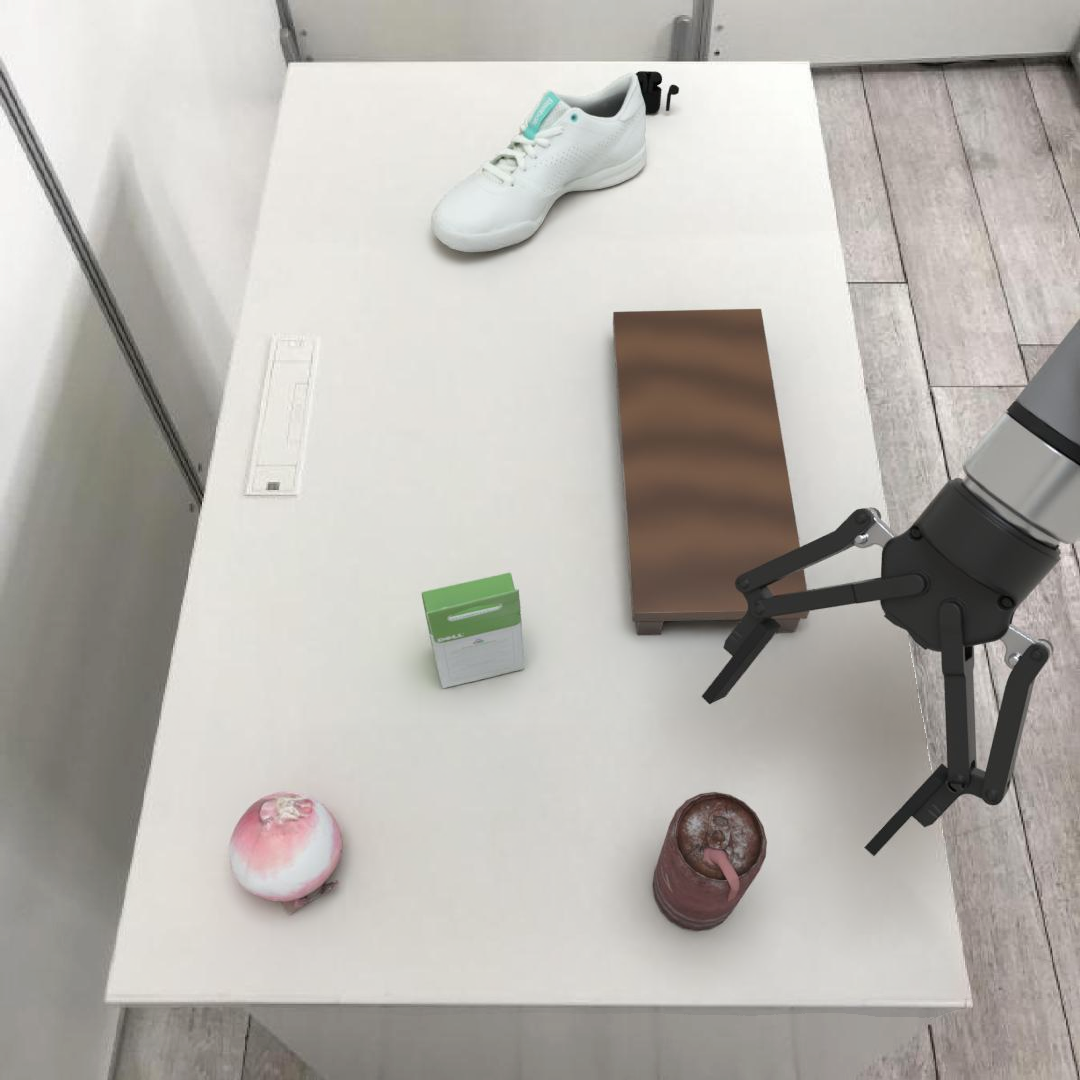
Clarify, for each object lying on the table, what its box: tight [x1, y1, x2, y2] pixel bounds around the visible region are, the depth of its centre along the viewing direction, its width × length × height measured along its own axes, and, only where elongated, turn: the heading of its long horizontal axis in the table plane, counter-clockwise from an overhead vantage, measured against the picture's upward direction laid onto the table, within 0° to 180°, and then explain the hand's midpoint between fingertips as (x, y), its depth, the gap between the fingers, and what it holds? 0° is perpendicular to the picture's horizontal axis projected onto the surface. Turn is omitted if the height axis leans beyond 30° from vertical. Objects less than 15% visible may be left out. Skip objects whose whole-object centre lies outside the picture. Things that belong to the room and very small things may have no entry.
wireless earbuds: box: [635, 70, 680, 114], centre depth 120 cm, size 7×2×5 cm, turn 87°
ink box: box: [421, 571, 526, 689], centre depth 81 cm, size 7×4×13 cm, turn 104°
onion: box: [228, 791, 343, 915], centre depth 76 cm, size 8×8×7 cm
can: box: [652, 791, 768, 932], centre depth 71 cm, size 6×6×14 cm
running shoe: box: [430, 72, 647, 253], centre depth 110 cm, size 10×27×12 cm, turn 128°
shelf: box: [612, 308, 810, 636], centre depth 94 cm, size 32×14×4 cm, turn 1°
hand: (790, 768), depth 69 cm, fingers open, 13 cm apart
